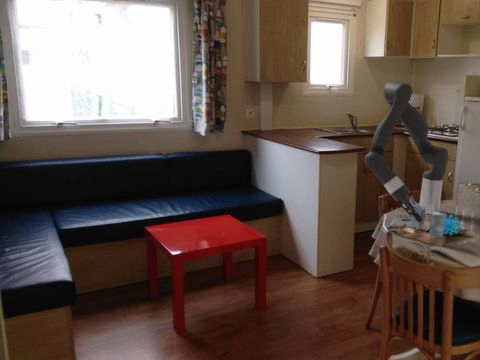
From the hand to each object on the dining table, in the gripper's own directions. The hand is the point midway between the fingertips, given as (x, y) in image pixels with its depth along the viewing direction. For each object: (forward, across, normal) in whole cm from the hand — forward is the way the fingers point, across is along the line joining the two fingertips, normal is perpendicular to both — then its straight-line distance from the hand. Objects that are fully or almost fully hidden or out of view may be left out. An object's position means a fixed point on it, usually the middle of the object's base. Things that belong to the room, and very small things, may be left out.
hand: (421, 219), depth 194 cm
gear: (+12, +3, -4) cm, 13 cm away
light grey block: (+2, 0, +4) cm, 5 cm away
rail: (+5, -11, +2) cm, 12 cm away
